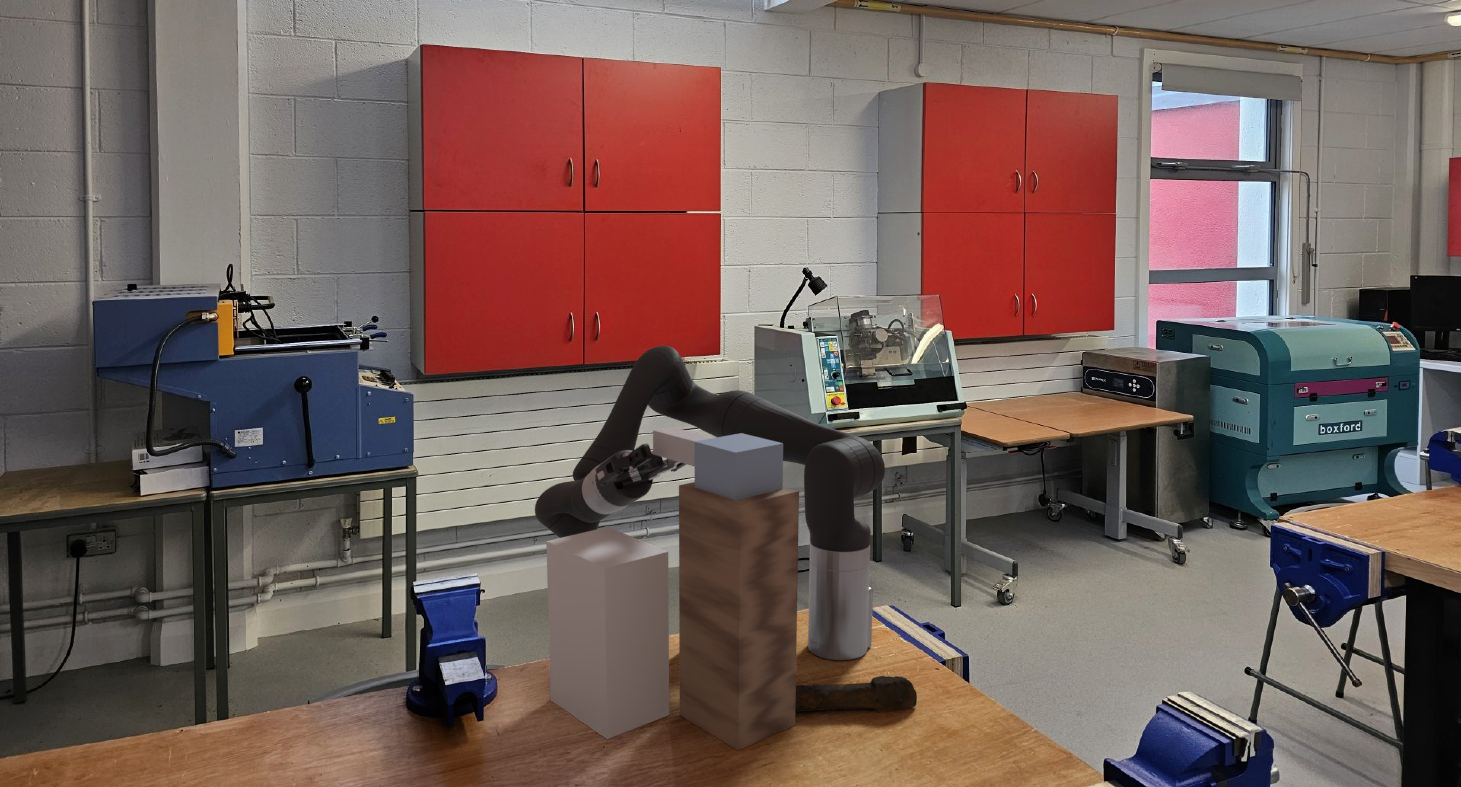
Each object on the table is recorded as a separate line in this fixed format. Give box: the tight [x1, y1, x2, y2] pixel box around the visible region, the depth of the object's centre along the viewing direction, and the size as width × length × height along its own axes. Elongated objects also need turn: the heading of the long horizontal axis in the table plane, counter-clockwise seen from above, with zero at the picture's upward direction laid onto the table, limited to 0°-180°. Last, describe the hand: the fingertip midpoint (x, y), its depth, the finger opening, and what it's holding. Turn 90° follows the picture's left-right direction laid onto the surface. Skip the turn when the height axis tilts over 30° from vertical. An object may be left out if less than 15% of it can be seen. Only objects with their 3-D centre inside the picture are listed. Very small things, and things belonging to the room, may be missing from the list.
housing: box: [652, 426, 784, 500], centre depth 134 cm, size 8×20×6 cm, turn 41°
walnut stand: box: [678, 481, 800, 751], centre depth 133 cm, size 10×12×32 cm
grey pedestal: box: [545, 526, 670, 740], centre depth 137 cm, size 10×14×23 cm
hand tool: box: [795, 675, 918, 715], centre depth 138 cm, size 19×4×5 cm, turn 92°
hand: (673, 445), depth 139 cm, fingers open, 8 cm apart
